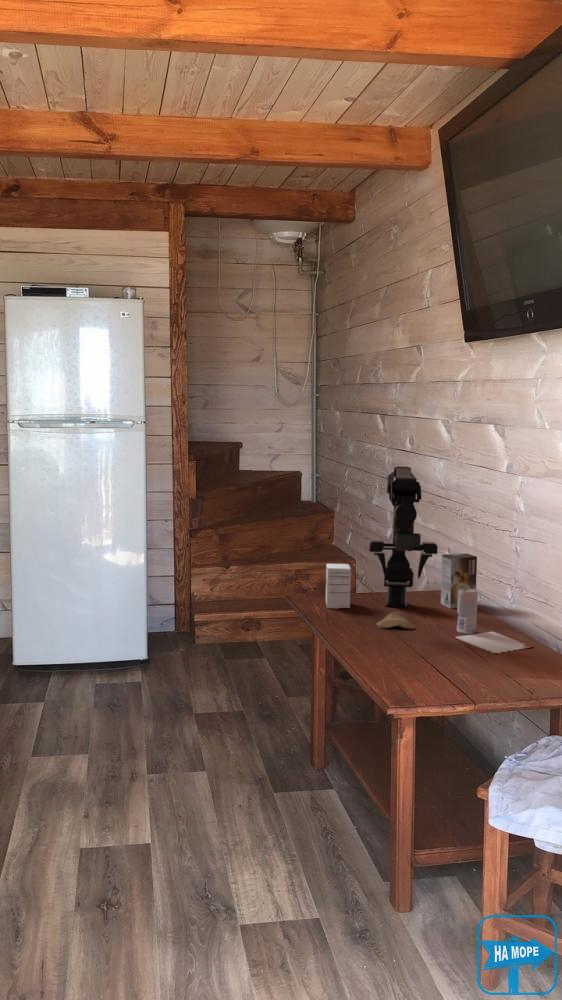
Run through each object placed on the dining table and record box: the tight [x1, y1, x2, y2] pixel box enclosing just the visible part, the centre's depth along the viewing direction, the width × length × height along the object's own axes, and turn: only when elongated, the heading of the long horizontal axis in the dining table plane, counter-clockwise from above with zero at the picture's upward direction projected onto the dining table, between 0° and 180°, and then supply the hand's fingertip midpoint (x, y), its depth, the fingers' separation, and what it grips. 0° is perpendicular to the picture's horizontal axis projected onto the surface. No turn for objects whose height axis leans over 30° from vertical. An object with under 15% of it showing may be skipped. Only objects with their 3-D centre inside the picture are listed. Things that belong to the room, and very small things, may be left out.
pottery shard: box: [376, 611, 416, 630], centre depth 249 cm, size 11×4×10 cm
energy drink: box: [455, 588, 479, 635], centre depth 242 cm, size 5×5×12 cm
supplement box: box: [325, 563, 352, 609], centre depth 269 cm, size 7×7×13 cm
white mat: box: [455, 631, 526, 654], centre depth 232 cm, size 16×13×1 cm
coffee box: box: [440, 553, 478, 609], centre depth 272 cm, size 9×6×16 cm
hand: (401, 577), depth 243 cm, fingers open, 9 cm apart
